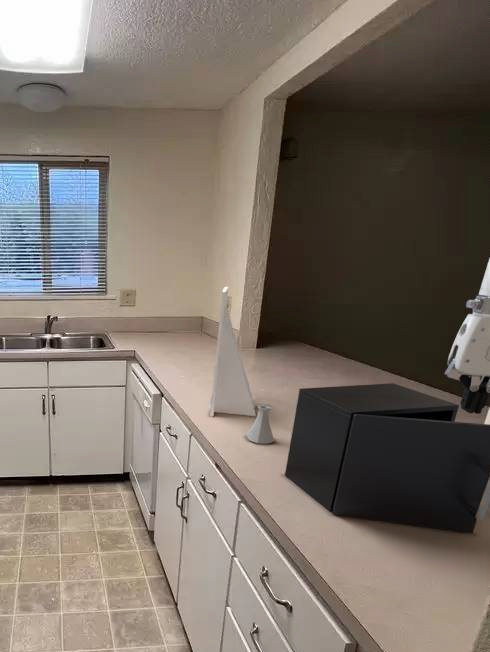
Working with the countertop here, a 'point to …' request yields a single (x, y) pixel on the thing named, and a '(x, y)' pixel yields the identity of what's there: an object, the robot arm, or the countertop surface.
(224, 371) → the white bracket plate
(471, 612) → the countertop surface
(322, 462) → the mini fridge
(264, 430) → the flask
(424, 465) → the fridge door
